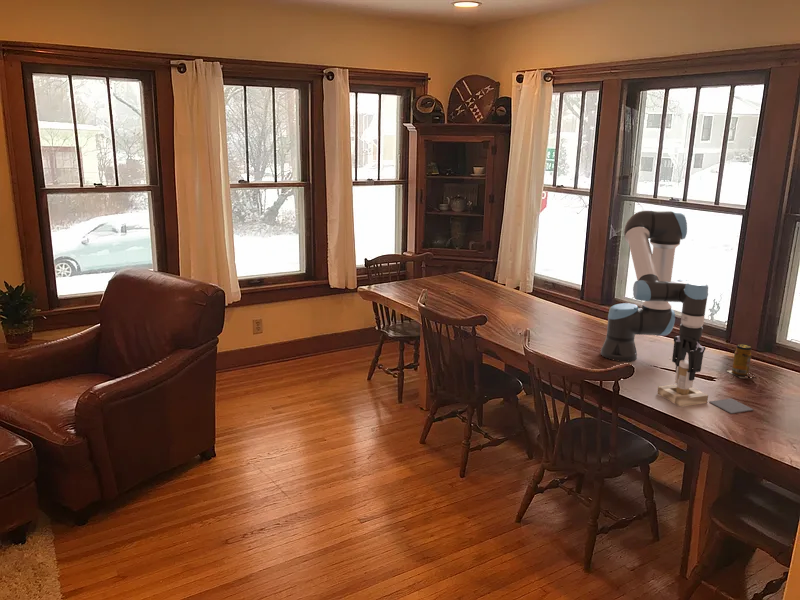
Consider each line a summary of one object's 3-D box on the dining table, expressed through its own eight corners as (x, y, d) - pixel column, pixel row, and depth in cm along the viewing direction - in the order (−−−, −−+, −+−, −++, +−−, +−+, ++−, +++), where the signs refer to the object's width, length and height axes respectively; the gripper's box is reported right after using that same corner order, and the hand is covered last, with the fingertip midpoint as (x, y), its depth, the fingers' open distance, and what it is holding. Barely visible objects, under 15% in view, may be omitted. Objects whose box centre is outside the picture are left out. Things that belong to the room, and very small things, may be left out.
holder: (657, 393, 234) (658, 386, 233) (683, 390, 237) (684, 383, 237) (680, 406, 223) (681, 399, 222) (707, 402, 226) (708, 395, 226)
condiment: (741, 370, 259) (745, 342, 256) (756, 377, 251) (761, 349, 248) (726, 371, 257) (730, 343, 254) (740, 378, 249) (745, 350, 246)
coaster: (709, 402, 227) (709, 401, 227) (731, 399, 230) (731, 398, 229) (730, 413, 217) (731, 412, 217) (753, 410, 220) (753, 409, 220)
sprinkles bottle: (678, 391, 233) (683, 358, 230) (690, 395, 230) (695, 361, 226) (673, 395, 230) (677, 361, 227) (685, 399, 227) (690, 364, 223)
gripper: (666, 319, 230) (658, 377, 236) (701, 333, 214) (692, 395, 220) (682, 317, 232) (675, 375, 238) (718, 331, 216) (709, 393, 222)
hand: (683, 384), depth 229 cm, fingers closed on sprinkles bottle, 4 cm apart
